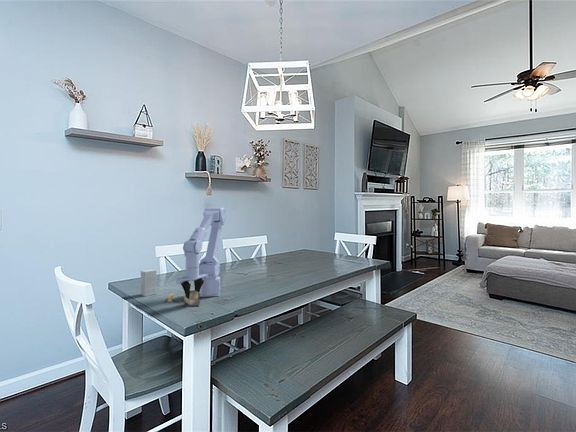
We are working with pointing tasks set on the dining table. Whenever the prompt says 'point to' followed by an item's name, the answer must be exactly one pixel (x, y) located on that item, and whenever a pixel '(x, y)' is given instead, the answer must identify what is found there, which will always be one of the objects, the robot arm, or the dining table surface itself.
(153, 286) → the skincare box
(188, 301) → the plug block
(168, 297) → the pair of wooden bars
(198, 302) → the rubber mat
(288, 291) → the dining table surface
